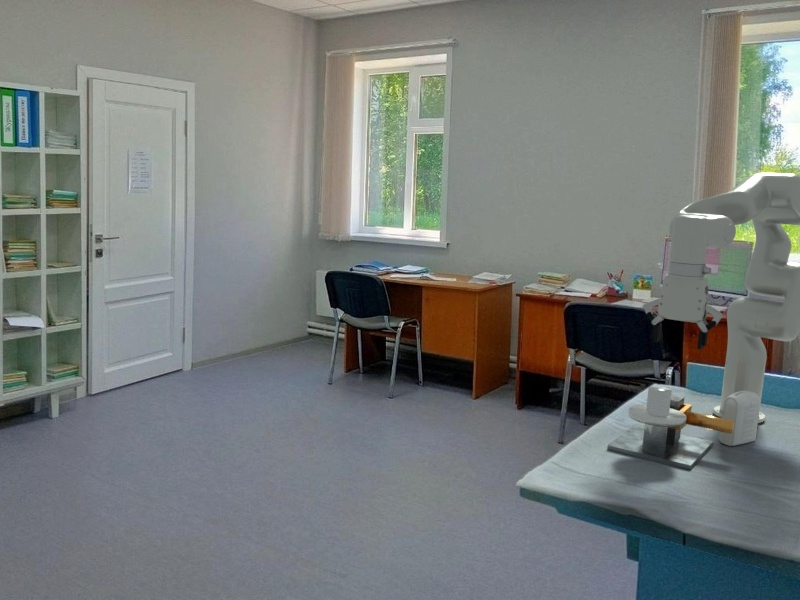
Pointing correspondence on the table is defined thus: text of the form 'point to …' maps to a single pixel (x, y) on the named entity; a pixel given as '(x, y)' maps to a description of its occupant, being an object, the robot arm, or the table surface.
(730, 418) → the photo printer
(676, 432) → the grey rectangular block
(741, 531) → the table surface
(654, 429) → the ringlock standard
